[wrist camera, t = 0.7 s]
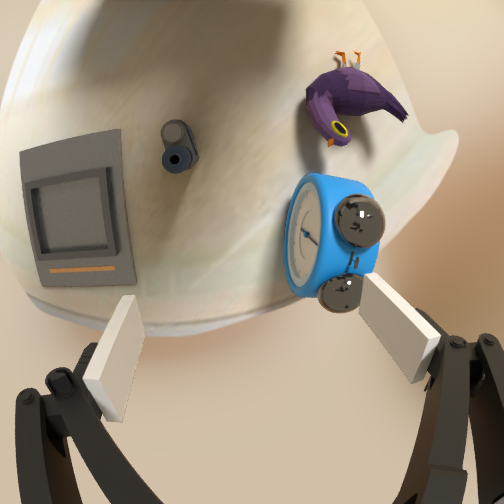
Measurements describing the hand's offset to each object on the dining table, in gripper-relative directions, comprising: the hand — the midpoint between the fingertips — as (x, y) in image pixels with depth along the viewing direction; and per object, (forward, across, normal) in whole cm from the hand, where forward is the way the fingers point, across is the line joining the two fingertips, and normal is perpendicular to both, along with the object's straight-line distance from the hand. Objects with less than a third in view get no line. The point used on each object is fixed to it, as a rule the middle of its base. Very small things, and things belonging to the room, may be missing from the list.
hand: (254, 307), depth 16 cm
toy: (+22, +15, +15) cm, 30 cm away
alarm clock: (+21, +10, -2) cm, 24 cm away
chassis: (+21, -21, +2) cm, 30 cm away
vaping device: (+22, -5, +9) cm, 24 cm away
